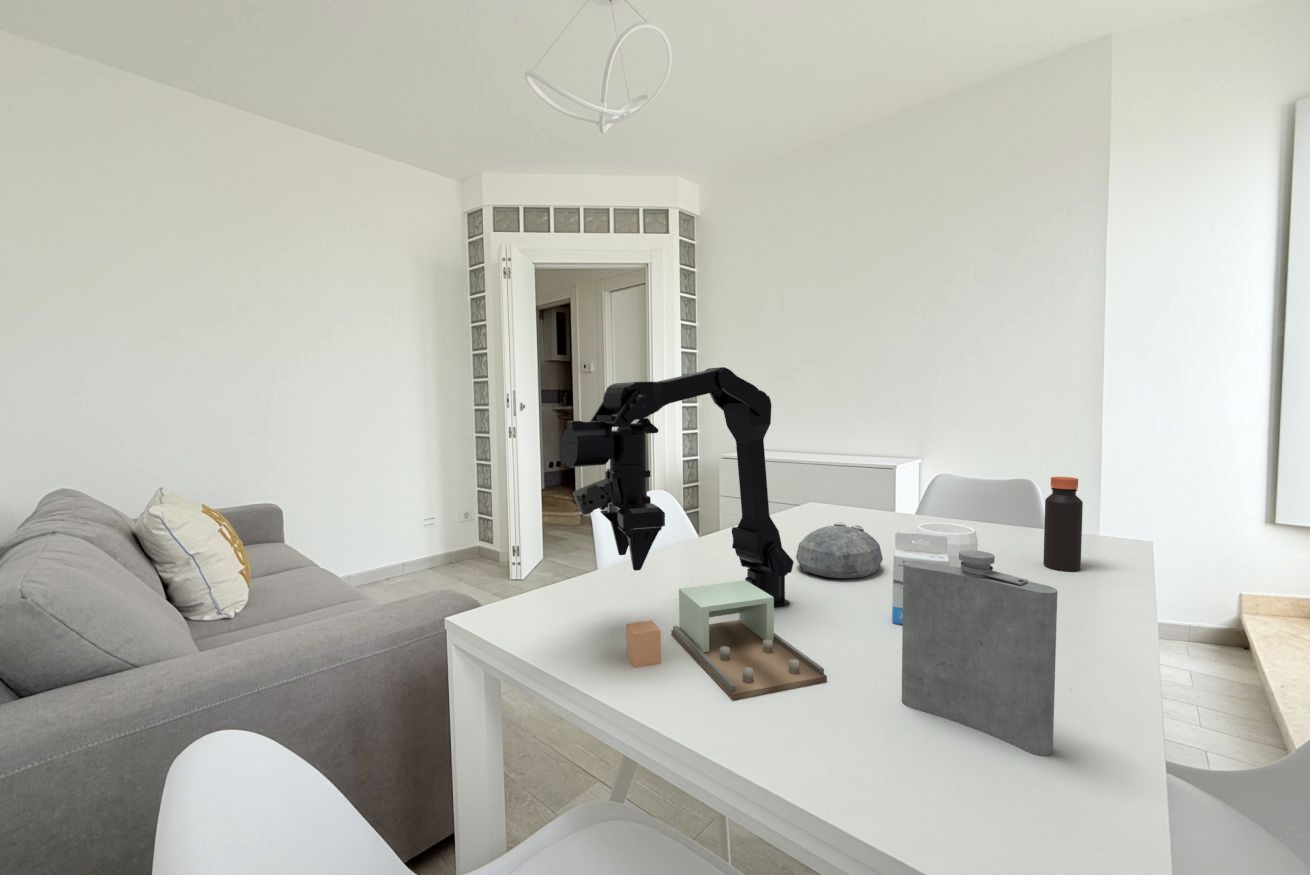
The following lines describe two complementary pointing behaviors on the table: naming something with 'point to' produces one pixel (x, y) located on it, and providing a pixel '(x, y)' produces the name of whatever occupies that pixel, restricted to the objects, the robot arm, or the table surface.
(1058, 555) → the bottle
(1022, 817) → the table surface
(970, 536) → the cup
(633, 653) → the block
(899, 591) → the ink box
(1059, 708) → the table surface
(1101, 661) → the table surface
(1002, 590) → the hip flask
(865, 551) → the decorative stone
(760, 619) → the housing
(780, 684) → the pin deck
